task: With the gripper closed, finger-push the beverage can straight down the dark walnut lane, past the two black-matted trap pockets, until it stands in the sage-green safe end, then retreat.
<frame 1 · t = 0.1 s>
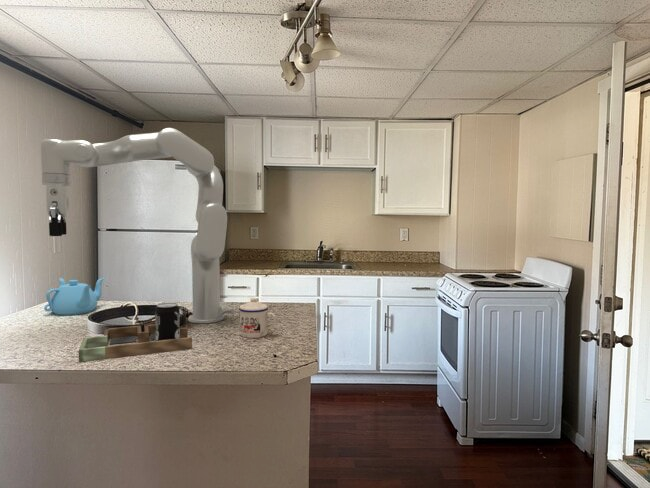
hand: (58, 235, 132), 31 cm above the countertop, fingers open, 9 cm apart
wooden tray: (138, 348, 119), on the countertop
teacup with lid: (258, 335, 134), on the countertop
teapot: (77, 311, 164), on the countertop
beverage can: (168, 345, 123), on the countertop
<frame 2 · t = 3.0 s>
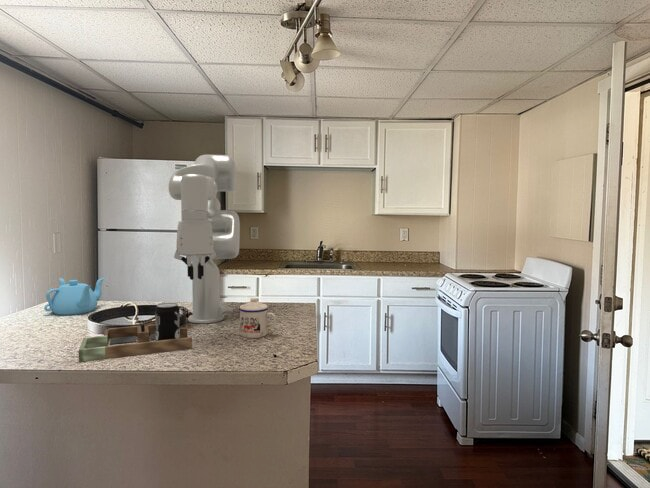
hand: (195, 278, 125), 19 cm above the countertop, fingers closed
nothing on the countertop moved.
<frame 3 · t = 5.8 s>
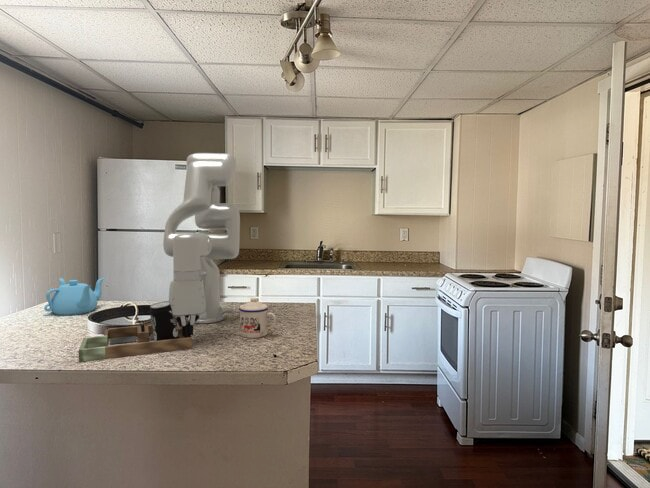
hand: (187, 337, 125), 2 cm above the countertop, fingers closed
beverage can: (168, 344, 123), on the countertop, touching gripper
everything else where it was.
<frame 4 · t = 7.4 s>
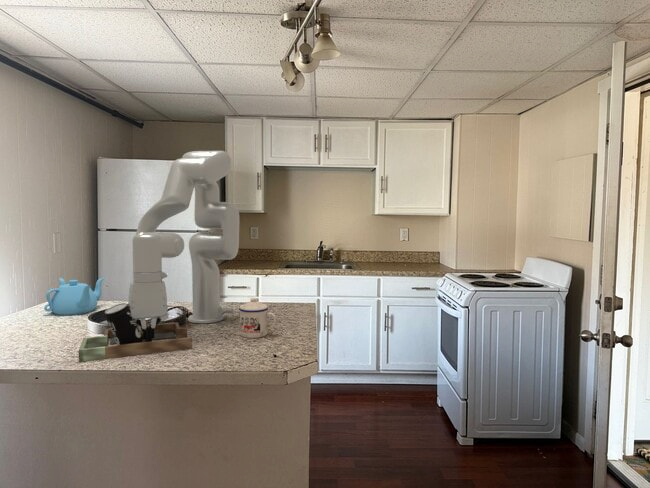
hand: (148, 341, 120), 2 cm above the countertop, fingers closed
beverage can: (132, 346, 119), point 1 cm above the countertop, touching gripper
everything else where it was.
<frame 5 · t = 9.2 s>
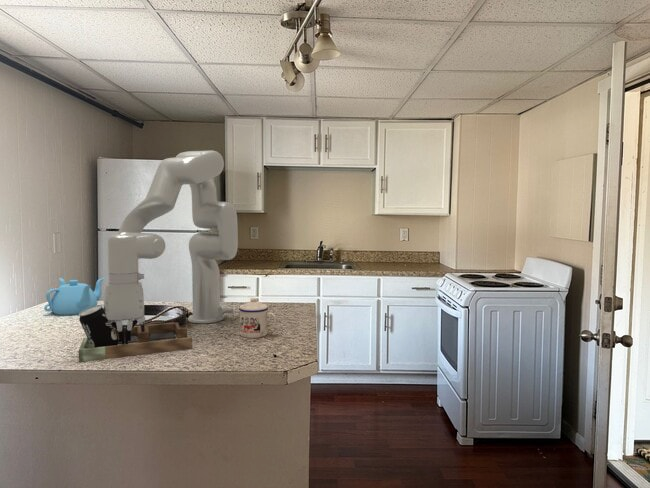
hand: (125, 343, 118), 2 cm above the countertop, fingers closed
beverage can: (107, 349, 116), point 1 cm above the countertop, touching gripper
everything else where it was.
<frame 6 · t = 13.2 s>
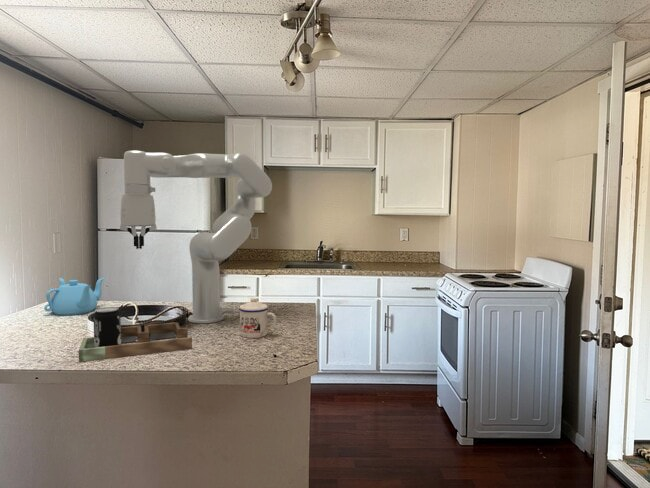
hand: (138, 248, 134), 27 cm above the countertop, fingers closed
beverage can: (108, 352, 116), on the countertop
everything else where it was.
at the end: beverage can inside the target area (1.9 cm from its centre), on the countertop; beverage can tilted 1°; beverage can touching countertop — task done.
